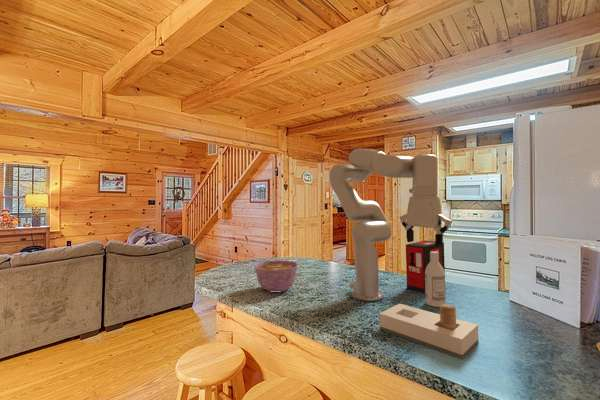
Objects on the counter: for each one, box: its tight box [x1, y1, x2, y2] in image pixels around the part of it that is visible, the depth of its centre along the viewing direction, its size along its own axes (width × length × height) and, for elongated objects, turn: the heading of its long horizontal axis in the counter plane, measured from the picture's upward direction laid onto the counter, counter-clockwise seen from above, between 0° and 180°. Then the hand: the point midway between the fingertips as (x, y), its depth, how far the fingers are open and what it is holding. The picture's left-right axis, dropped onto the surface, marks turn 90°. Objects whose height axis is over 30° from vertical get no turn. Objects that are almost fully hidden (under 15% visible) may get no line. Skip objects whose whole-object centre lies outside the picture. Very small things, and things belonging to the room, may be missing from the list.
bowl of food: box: [254, 260, 299, 292], centre depth 135 cm, size 20×20×12 cm
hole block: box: [379, 303, 479, 360], centre depth 87 cm, size 12×24×5 cm, turn 42°
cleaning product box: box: [405, 240, 446, 294], centre depth 133 cm, size 16×9×20 cm, turn 127°
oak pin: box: [439, 304, 457, 331], centre depth 83 cm, size 4×4×9 cm
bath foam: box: [424, 252, 447, 308], centre depth 112 cm, size 7×7×20 cm
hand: (423, 243), depth 98 cm, fingers open, 9 cm apart
